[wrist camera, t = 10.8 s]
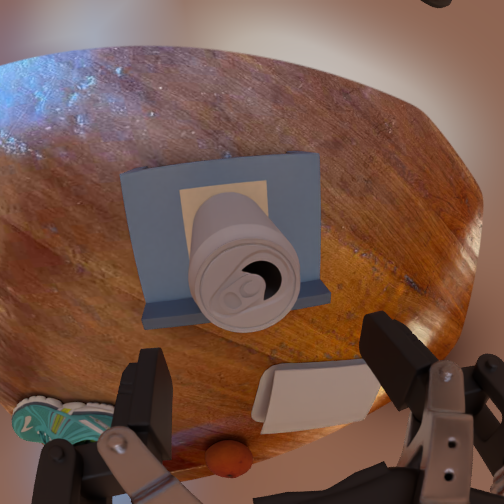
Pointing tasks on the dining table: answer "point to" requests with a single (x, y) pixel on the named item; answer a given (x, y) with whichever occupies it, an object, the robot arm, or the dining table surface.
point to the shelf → (187, 204)
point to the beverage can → (241, 265)
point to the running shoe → (61, 420)
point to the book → (314, 395)
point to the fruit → (228, 458)
